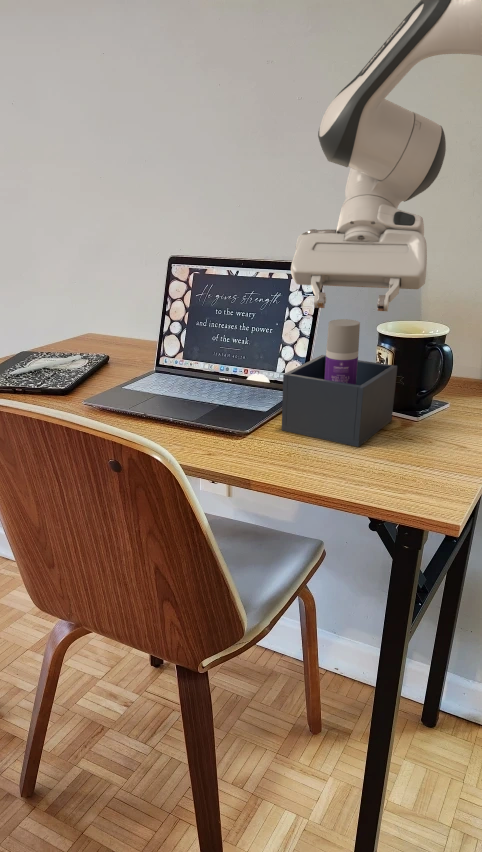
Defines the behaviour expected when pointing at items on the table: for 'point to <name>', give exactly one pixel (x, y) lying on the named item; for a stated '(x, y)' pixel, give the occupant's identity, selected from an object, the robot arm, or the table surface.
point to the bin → (338, 402)
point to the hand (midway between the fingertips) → (350, 307)
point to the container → (342, 351)
